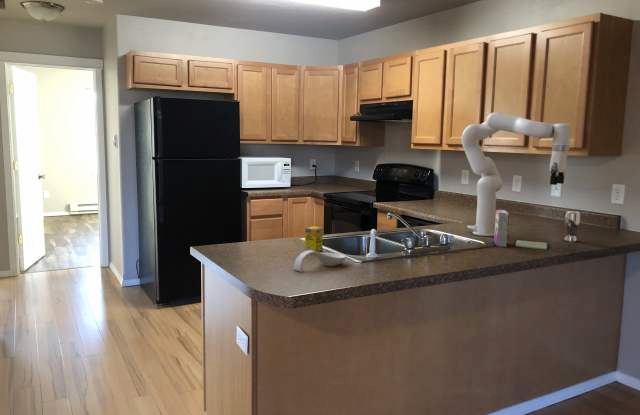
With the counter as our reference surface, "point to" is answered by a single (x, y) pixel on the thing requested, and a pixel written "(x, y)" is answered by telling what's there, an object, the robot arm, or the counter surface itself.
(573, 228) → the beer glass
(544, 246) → the mat
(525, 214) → the counter surface
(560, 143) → the robot arm
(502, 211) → the candy bar box
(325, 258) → the spoon rest
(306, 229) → the supplement box
